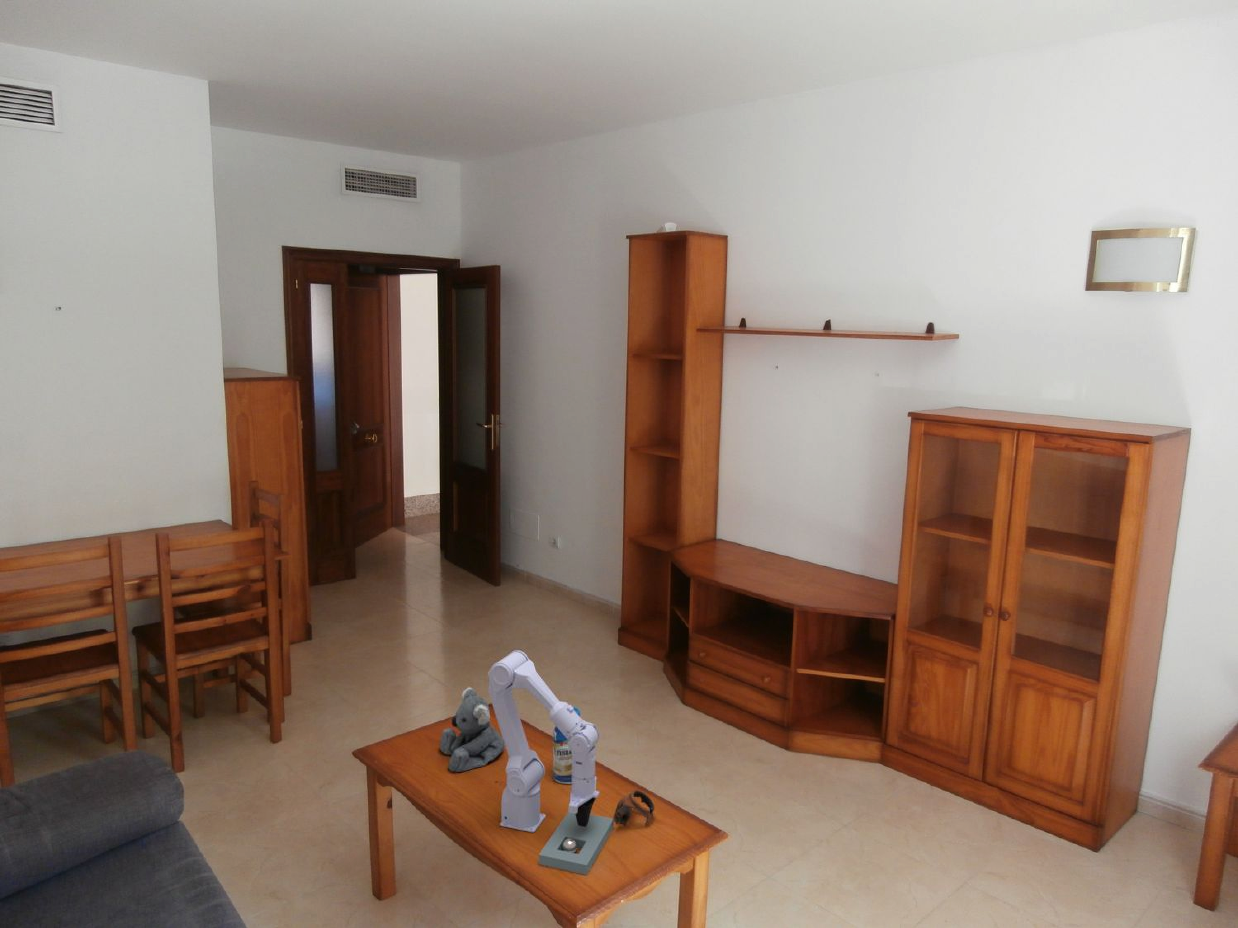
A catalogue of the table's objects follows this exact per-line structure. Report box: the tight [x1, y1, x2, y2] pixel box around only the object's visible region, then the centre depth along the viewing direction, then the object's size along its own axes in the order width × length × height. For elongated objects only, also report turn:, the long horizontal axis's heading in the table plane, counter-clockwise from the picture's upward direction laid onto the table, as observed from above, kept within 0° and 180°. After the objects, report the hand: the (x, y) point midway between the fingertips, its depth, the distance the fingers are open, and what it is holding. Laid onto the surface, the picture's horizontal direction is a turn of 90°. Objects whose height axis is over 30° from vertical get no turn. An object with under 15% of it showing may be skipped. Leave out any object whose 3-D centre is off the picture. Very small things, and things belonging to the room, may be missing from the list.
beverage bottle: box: [551, 705, 581, 785], centre depth 239 cm, size 8×8×20 cm
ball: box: [562, 839, 578, 853], centre depth 206 cm, size 4×4×4 cm
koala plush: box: [439, 686, 506, 773], centre depth 250 cm, size 17×18×20 cm
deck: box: [538, 810, 615, 876], centre depth 209 cm, size 12×20×2 cm, turn 162°
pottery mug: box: [613, 789, 655, 827], centre depth 219 cm, size 12×10×8 cm
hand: (582, 824), depth 212 cm, fingers closed
